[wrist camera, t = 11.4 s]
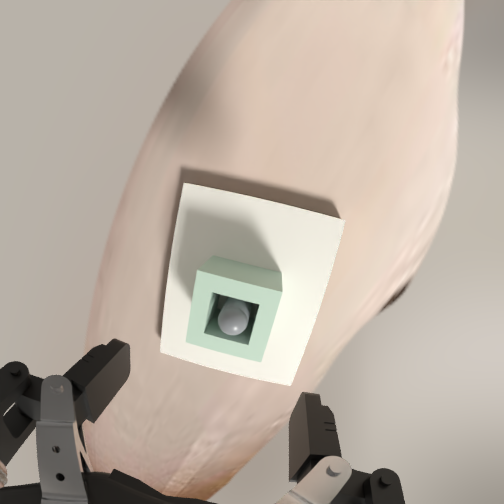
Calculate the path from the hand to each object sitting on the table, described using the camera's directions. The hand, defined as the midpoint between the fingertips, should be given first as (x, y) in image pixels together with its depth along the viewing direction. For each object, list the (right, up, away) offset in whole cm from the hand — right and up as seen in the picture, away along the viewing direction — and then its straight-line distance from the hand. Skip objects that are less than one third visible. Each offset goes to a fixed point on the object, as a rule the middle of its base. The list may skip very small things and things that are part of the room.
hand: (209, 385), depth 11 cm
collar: (+1, +2, +11) cm, 12 cm away
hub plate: (+1, +3, +13) cm, 13 cm away
